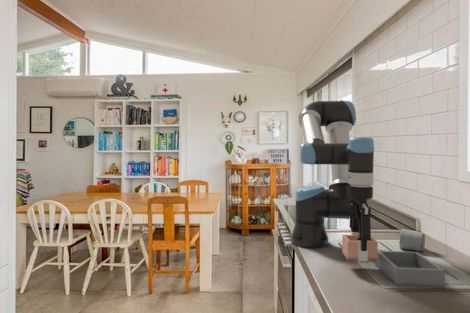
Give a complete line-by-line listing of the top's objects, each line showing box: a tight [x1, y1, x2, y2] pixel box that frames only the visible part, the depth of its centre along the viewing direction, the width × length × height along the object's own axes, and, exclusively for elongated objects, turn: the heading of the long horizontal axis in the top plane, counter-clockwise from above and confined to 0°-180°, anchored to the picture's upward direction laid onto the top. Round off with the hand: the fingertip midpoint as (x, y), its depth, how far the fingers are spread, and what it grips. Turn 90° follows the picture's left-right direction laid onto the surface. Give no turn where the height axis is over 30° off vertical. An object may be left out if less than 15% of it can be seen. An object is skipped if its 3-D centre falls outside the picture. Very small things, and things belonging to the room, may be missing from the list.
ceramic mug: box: [399, 228, 426, 252], centre depth 122 cm, size 11×8×8 cm
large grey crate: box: [375, 250, 446, 289], centre depth 95 cm, size 13×16×5 cm
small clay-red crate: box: [341, 234, 379, 262], centre depth 101 cm, size 9×7×6 cm
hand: (359, 255), depth 101 cm, fingers closed on small clay-red crate, 7 cm apart
